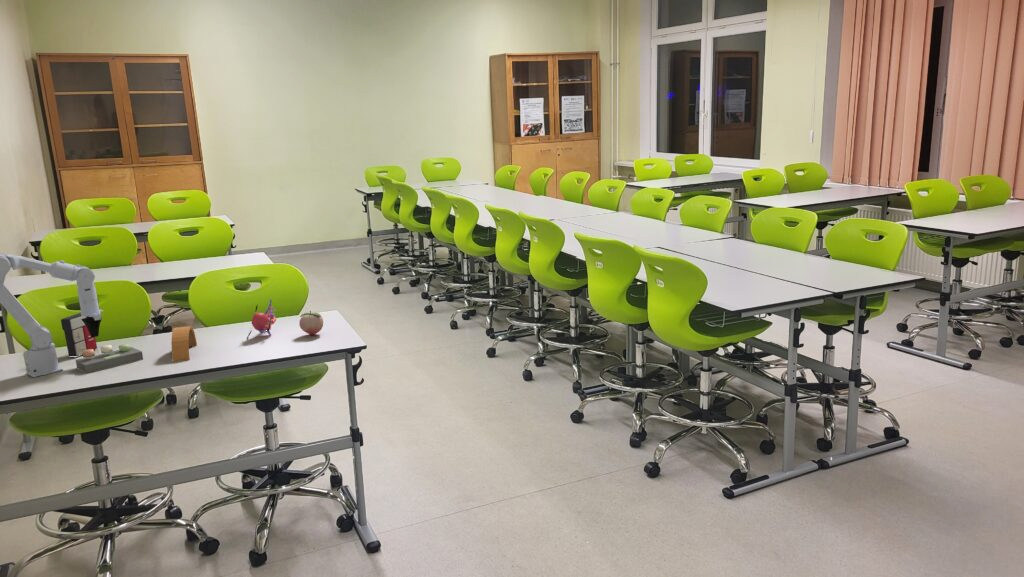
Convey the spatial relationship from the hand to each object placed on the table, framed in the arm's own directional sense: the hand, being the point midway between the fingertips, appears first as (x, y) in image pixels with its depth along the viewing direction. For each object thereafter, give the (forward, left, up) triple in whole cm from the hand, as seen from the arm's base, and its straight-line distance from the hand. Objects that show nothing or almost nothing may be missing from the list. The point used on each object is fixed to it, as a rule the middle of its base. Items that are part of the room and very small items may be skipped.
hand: (94, 336), depth 268 cm
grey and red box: (0, +17, -10) cm, 20 cm away
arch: (+24, -18, -10) cm, 31 cm away
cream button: (+2, -5, -5) cm, 8 cm away
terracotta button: (-4, -5, -5) cm, 9 cm away
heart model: (+54, -20, -10) cm, 59 cm away
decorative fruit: (+66, -38, -10) cm, 77 cm away
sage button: (+7, -6, -6) cm, 11 cm away
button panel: (+2, -7, -9) cm, 12 cm away
